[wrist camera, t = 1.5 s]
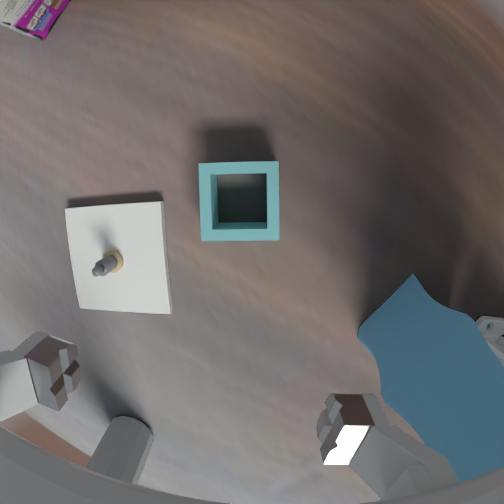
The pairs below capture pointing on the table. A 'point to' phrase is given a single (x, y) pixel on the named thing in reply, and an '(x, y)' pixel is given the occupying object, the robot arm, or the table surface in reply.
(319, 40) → the table surface
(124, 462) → the water bottle
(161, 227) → the post stand
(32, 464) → the robot arm
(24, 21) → the candy bar box
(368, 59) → the table surface
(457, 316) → the vase
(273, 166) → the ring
